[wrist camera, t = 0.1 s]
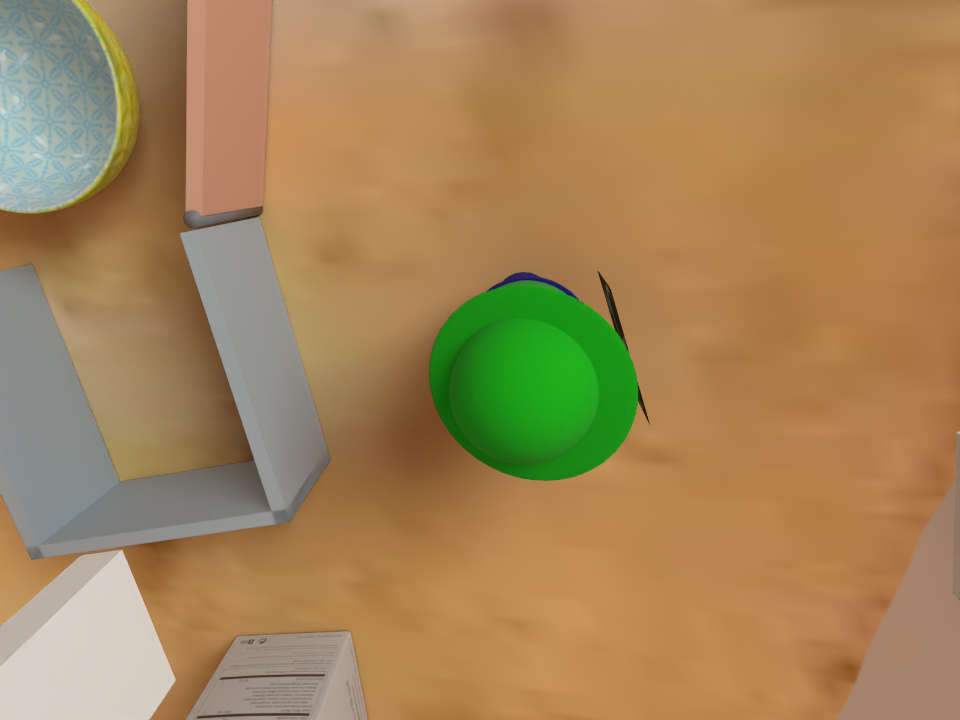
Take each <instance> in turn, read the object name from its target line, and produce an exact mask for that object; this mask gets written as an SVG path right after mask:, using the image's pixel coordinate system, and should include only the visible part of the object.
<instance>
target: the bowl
mask: <svg viewBox="0 0 960 720" xmlns="http://www.w3.org/2000/svg"><path fill="white" fill-rule="evenodd" d="M139 125H140V100H139V93H138V88H137V83H136V80H135V76H134V73H133V70H132V68H131V65H130V62H129V60H128V58H127V56H126V54H125V52H124V50H123V48H122V46H121V44H120V43H119V41H118V40H117V38H116V37H115V35H114V33H113V32H112V31H111V29H110V28H109V26H108V25H107V24H106V23H105V22H104V21H103V19H102V18H101V17H100V16H99V15H98V14H97V13H96V12H95V11H94V10H93V9H92V7H91V6H90V5H89V4H88V3H87V2H86V1H85V0H0V210H4V211H8V212H14V213H23V214H40V213H46V212H52V211H57V210H61V209H65V208H68V207H71V206H74V205H76V204H79V203H81V202H83V201H86V200H88V199H89V198H91V197H93V196H94V195H96V194H97V193H99V192H100V191H101V190H103V189H104V188H105V187H106V186H108V185H109V184H110V183H111V182H112V181H113V180H114V179H115V178H116V177H117V176H118V175H119V173H120V172H121V171H122V169H123V168H124V167H125V165H126V164H127V162H128V160H129V158H130V156H131V154H132V152H133V149H134V146H135V143H136V140H137V137H138V131H139Z"/></svg>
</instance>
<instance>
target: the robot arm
mask: <svg viewBox="0 0 960 720" xmlns="http://www.w3.org/2000/svg"><path fill="white" fill-rule="evenodd" d="M954 522H955V523H954V563H953V564H954V567H953V594H954V595H955V596H956V597H957V598H958V599H959V600H960V432H956V475H955V519H954ZM175 681H176V680H175V677H174V675H173V672H172V670H171V668H170V665H169V663H168V660H167V658H166V655H165V653H164V651H163V648H162V646H161V643H160V641H159V638H158V636H157V634H156V631H155V629H154V626H153V624H152V621H151V619H150V616H149V614H148V612H147V609H146V607H145V604H144V602H143V599H142V597H141V595H140V592H139V590H138V587H137V585H136V582H135V580H134V578H133V575H132V573H131V570H130V568H129V565H128V563H127V561H126V558H125V556H124V553H123V551H122V550H116V551H109V552H102V553H94V554H87V555H81V556H80V557H79V558H77V559H76V560H75V561H74V562H73V563H72V564H71V565H70V566H68V567H67V568H66V569H65V570H64V571H63V572H62V573H60V574H59V575H58V576H57V577H56V578H55V579H54V580H53V581H51V582H50V583H49V584H48V585H47V586H46V587H45V588H44V589H42V590H41V591H40V592H39V593H38V594H37V595H36V596H35V597H33V598H32V599H31V600H30V601H29V602H28V603H27V604H26V605H24V606H23V607H22V608H21V609H20V610H19V611H18V612H16V613H15V614H14V615H13V616H12V617H11V618H10V619H9V620H7V621H6V622H5V623H4V624H3V625H2V626H1V627H0V720H149V719H150V718H151V716H152V715H153V713H154V712H155V710H156V709H157V707H158V706H159V704H160V703H161V701H162V700H163V698H164V697H165V696H166V694H167V693H168V691H169V690H170V688H171V687H172V685H173V684H174V682H175Z"/></svg>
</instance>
